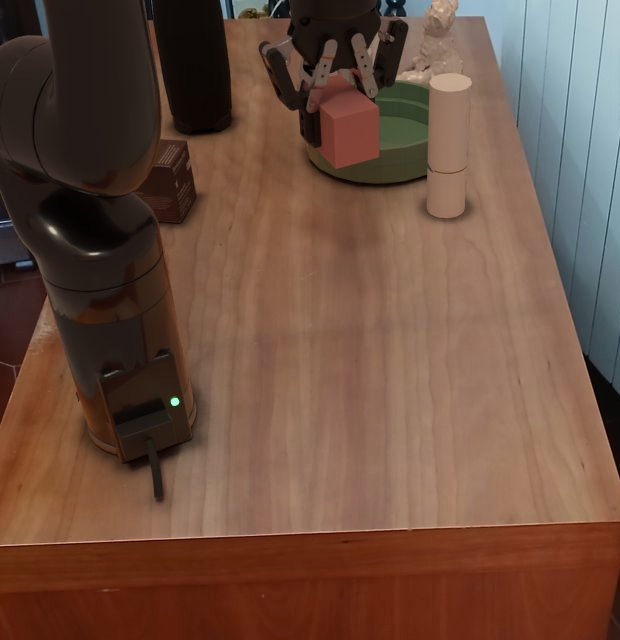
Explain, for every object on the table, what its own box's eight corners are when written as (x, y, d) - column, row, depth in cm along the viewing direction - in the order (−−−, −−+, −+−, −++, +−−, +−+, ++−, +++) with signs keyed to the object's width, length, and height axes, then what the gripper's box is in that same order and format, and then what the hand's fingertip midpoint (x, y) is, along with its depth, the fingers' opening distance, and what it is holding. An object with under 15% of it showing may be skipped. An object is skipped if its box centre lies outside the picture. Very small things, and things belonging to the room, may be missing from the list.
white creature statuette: (416, 64, 133) (418, -20, 125) (473, 73, 130) (479, -13, 122) (391, 92, 127) (390, 4, 119) (450, 102, 124) (454, 13, 116)
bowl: (482, 163, 111) (484, 125, 108) (346, 202, 106) (345, 163, 102) (409, 103, 124) (409, 68, 120) (284, 136, 118) (281, 99, 115)
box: (180, 224, 103) (170, 167, 99) (130, 220, 104) (117, 163, 100) (197, 196, 108) (188, 139, 103) (149, 192, 109) (138, 136, 104)
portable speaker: (227, 101, 126) (209, -46, 113) (242, 132, 119) (225, -22, 107) (165, 112, 124) (139, -37, 112) (177, 144, 118) (151, -11, 105)
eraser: (379, 157, 85) (379, 107, 82) (335, 169, 84) (333, 118, 81) (341, 122, 91) (339, 74, 88) (300, 133, 89) (296, 84, 86)
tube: (472, 206, 104) (480, 80, 94) (448, 222, 102) (454, 95, 92) (442, 193, 106) (447, 69, 96) (418, 209, 104) (421, 83, 94)
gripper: (268, -22, 71) (284, 174, 82) (429, -54, 75) (424, 136, 86) (233, -49, 76) (253, 139, 87) (386, -77, 81) (387, 105, 92)
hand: (338, 137), depth 87 cm, fingers closed on eraser, 4 cm apart
